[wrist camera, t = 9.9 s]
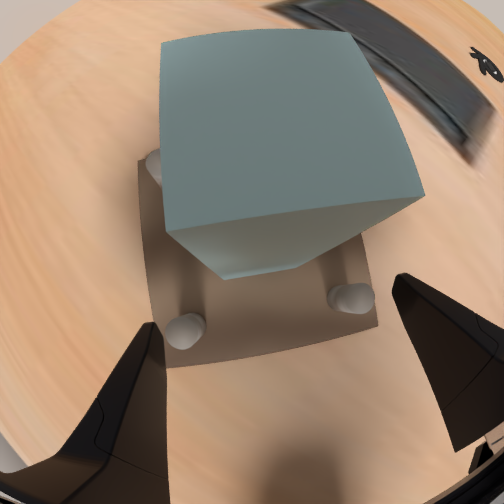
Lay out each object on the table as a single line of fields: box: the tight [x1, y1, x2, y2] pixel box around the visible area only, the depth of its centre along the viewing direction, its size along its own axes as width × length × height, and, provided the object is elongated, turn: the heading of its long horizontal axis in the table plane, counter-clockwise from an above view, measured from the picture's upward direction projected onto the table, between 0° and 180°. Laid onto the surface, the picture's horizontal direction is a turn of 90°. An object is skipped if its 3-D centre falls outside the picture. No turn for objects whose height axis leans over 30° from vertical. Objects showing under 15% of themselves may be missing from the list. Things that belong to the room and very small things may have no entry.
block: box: [159, 29, 425, 280], centre depth 11 cm, size 4×4×13 cm
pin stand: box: [138, 149, 378, 368], centre depth 16 cm, size 14×14×5 cm
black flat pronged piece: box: [470, 47, 504, 83], centre depth 24 cm, size 9×8×1 cm
